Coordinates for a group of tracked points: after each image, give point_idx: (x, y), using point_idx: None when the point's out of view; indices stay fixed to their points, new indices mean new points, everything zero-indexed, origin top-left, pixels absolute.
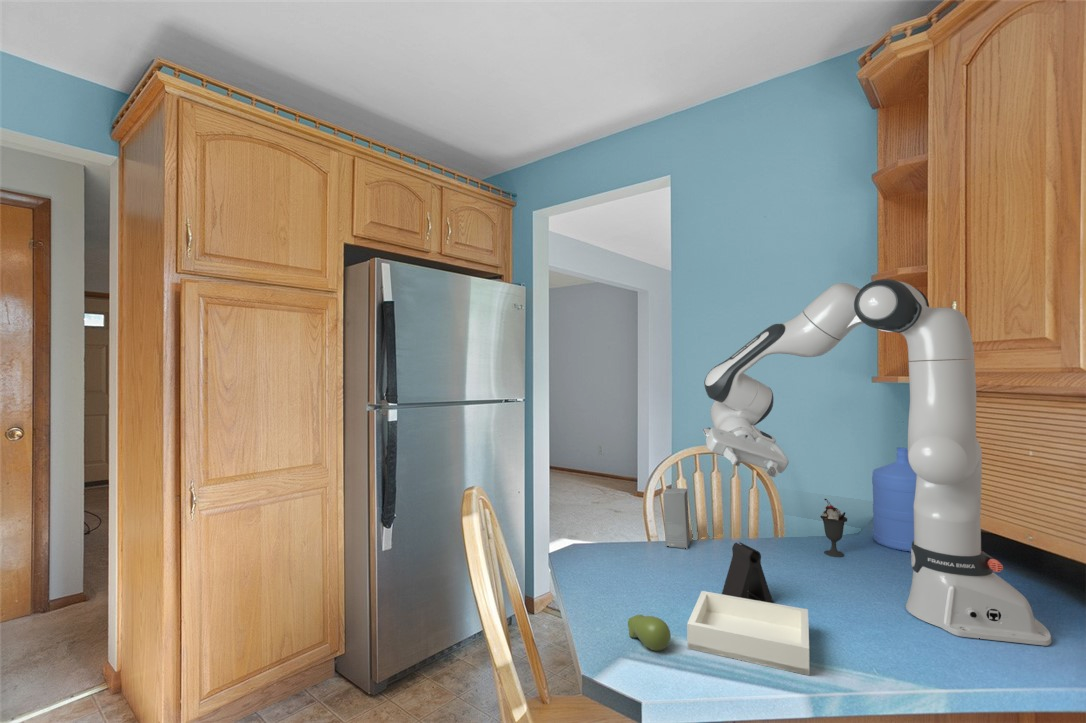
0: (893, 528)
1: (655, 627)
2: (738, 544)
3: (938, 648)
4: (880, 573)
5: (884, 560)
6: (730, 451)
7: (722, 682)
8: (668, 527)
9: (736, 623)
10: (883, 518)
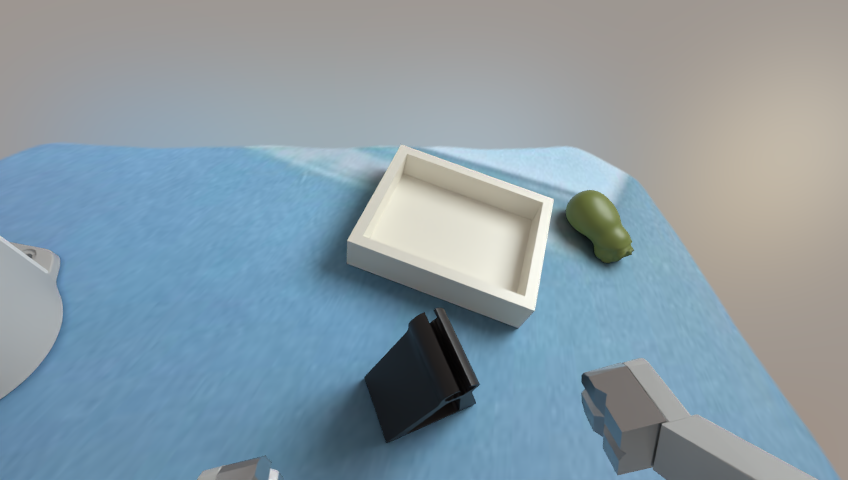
0: None
1: (593, 190)
2: (466, 369)
3: (146, 223)
4: None
5: None
6: (766, 460)
7: (499, 163)
8: None
9: (466, 268)
10: None
